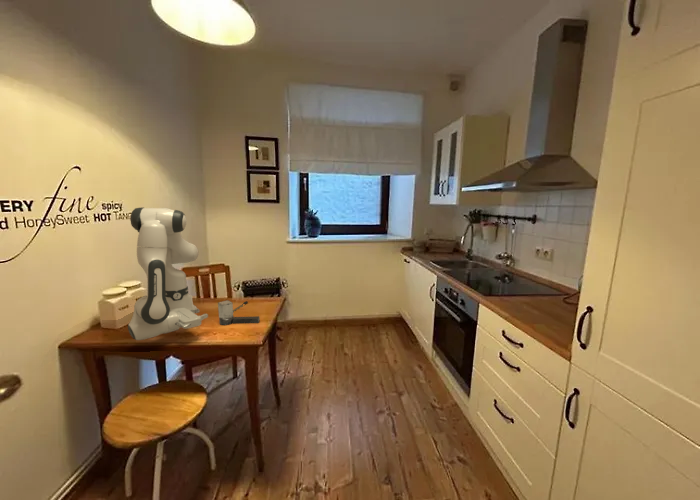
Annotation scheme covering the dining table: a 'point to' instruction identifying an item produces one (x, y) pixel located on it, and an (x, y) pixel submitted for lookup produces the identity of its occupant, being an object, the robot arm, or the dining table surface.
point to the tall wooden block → (225, 309)
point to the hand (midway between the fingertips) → (203, 312)
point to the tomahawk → (240, 306)
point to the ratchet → (239, 320)
